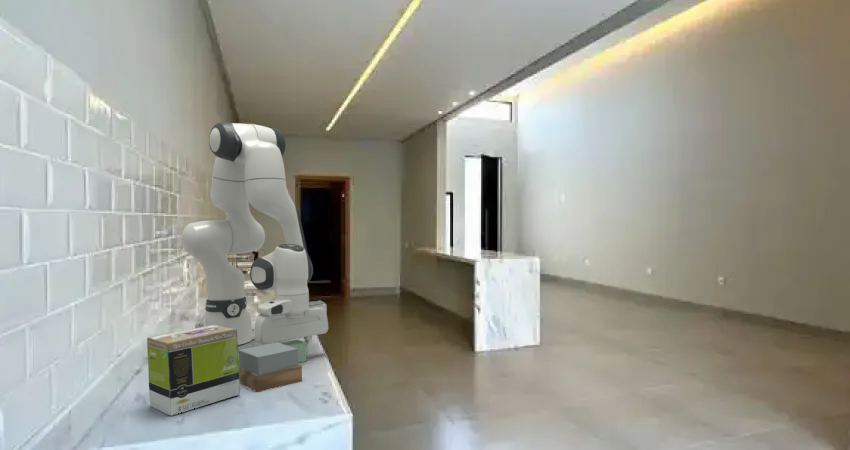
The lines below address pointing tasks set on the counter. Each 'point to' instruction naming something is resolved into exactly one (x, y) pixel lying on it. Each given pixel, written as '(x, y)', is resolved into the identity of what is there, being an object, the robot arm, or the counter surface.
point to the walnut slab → (270, 378)
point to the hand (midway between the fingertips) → (293, 355)
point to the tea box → (192, 368)
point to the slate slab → (268, 358)
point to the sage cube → (300, 346)
